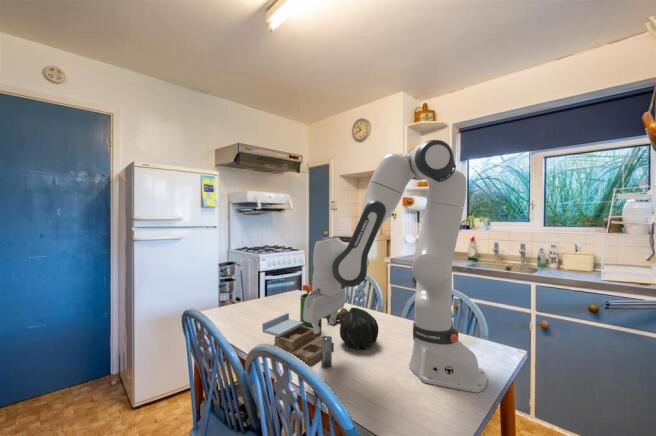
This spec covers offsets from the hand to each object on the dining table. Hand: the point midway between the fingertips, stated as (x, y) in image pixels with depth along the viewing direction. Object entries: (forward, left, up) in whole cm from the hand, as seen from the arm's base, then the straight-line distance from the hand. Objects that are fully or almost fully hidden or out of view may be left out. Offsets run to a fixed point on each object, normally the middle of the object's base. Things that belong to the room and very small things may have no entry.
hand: (324, 328), depth 98 cm
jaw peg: (-1, 0, -12) cm, 12 cm away
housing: (+11, -4, -12) cm, 17 cm away
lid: (+21, -4, -6) cm, 23 cm away
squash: (-3, -20, -12) cm, 24 cm away
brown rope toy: (+20, -38, -13) cm, 45 cm away
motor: (+19, -19, -12) cm, 30 cm away
